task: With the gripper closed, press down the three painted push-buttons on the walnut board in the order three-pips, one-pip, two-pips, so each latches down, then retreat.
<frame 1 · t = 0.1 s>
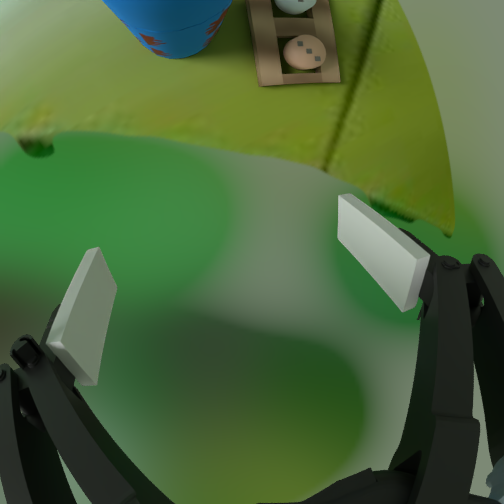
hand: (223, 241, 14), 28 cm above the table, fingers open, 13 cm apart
thermos: (179, 26, 28), on the table
button three: (304, 52, 30), point 4 cm above the table, slide at 0.0 cm
board: (286, 4, 28), on the table
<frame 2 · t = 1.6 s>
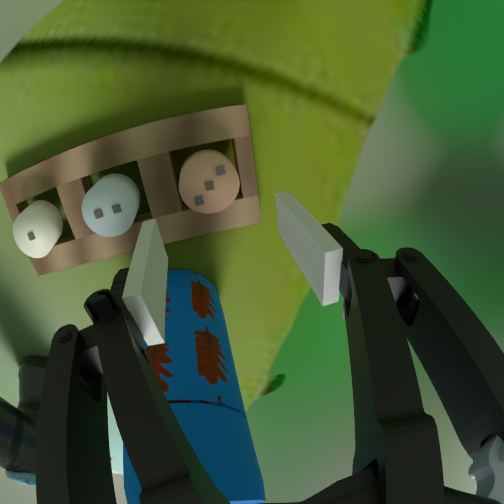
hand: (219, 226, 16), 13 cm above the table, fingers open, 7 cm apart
thermos: (178, 302, 34), on the table
button three: (208, 180, 23), point 4 cm above the table, slide at 0.0 cm
button one: (37, 229, 21), point 4 cm above the table, slide at 0.0 cm
button two: (111, 204, 22), point 4 cm above the table, slide at 0.0 cm
board: (120, 191, 26), on the table
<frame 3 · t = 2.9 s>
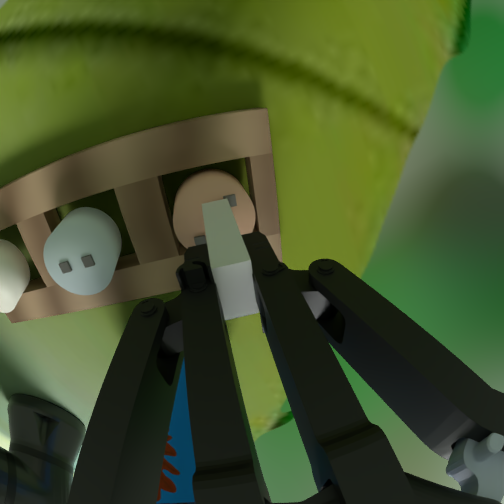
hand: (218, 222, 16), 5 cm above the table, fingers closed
thermos: (177, 351, 28), on the table
button three: (212, 212, 18), point 3 cm above the table, slide at 1.1 cm, touching gripper
button two: (82, 251, 16), point 4 cm above the table, slide at 0.0 cm
board: (97, 226, 19), on the table
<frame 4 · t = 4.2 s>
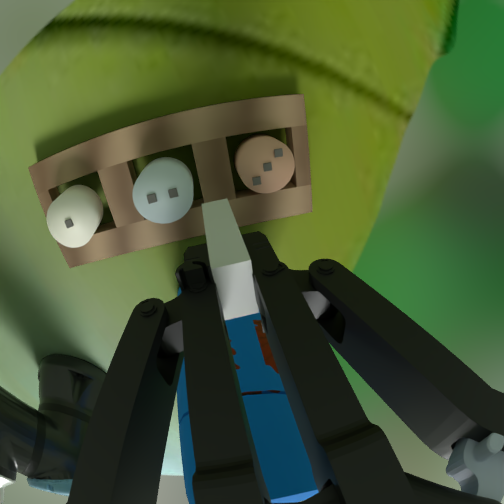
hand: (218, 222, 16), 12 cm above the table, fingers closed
thermos: (219, 293, 34), on the table
button three: (263, 162, 25), point 2 cm above the table, slide at 1.7 cm
button one: (74, 216, 22), point 4 cm above the table, slide at 0.0 cm
button two: (164, 189, 22), point 4 cm above the table, slide at 0.0 cm
board: (167, 177, 26), on the table
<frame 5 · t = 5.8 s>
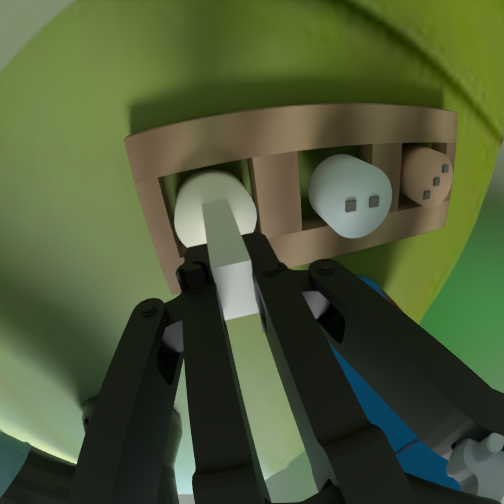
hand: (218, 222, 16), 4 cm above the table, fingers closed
thermos: (339, 313, 30), on the table
button three: (424, 175, 20), point 2 cm above the table, slide at 1.7 cm
button one: (213, 211, 18), point 2 cm above the table, slide at 1.5 cm, touching gripper
button two: (351, 195, 18), point 4 cm above the table, slide at 0.0 cm
board: (326, 178, 21), on the table
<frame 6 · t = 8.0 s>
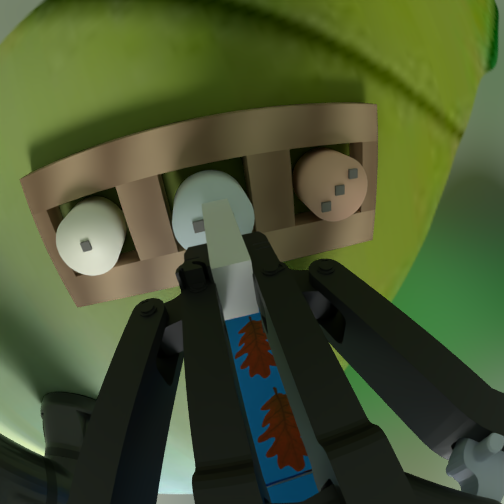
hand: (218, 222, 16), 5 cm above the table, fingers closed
thermos: (257, 329, 29), on the table
button three: (330, 183, 20), point 2 cm above the table, slide at 1.7 cm
button one: (91, 236, 18), point 2 cm above the table, slide at 1.7 cm
button two: (211, 213, 18), point 3 cm above the table, slide at 0.4 cm, touching gripper
board: (207, 196, 21), on the table
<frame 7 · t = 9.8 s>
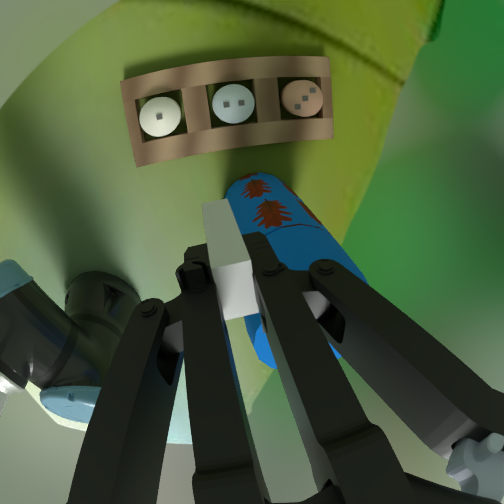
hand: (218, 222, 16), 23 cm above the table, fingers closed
thermos: (257, 205, 42), on the table
button three: (301, 98, 32), point 2 cm above the table, slide at 1.7 cm
button one: (160, 115, 30), point 2 cm above the table, slide at 1.7 cm
button two: (232, 103, 31), point 2 cm above the table, slide at 1.7 cm
board: (230, 103, 33), on the table
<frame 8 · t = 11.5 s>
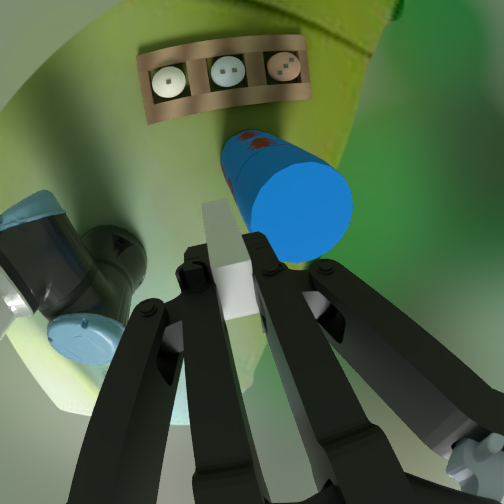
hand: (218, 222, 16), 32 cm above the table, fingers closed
thermos: (250, 158, 47), on the table
button three: (282, 67, 37), point 2 cm above the table, slide at 1.7 cm
button one: (169, 82, 35), point 2 cm above the table, slide at 1.7 cm
button two: (227, 71, 36), point 2 cm above the table, slide at 1.7 cm
board: (225, 73, 38), on the table
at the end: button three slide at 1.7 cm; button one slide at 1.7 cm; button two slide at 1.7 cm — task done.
